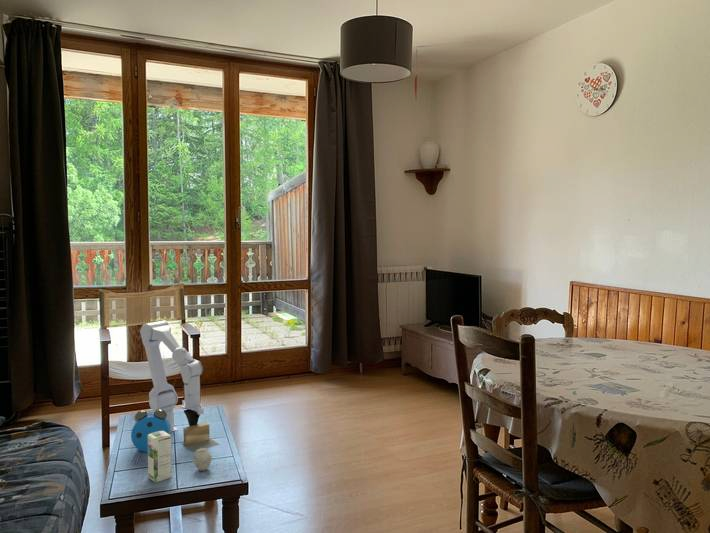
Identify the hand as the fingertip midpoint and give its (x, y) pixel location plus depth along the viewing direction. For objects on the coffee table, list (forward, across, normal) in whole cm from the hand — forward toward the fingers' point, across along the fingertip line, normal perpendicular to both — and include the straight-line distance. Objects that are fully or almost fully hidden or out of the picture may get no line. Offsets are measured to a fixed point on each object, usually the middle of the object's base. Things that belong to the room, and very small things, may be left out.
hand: (193, 427), depth 205 cm
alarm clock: (+5, -2, -15) cm, 16 cm away
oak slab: (+4, +3, 0) cm, 5 cm away
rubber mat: (+5, +5, 0) cm, 7 cm away
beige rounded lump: (+5, +26, -8) cm, 28 cm away
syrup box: (+5, +22, -22) cm, 31 cm away
